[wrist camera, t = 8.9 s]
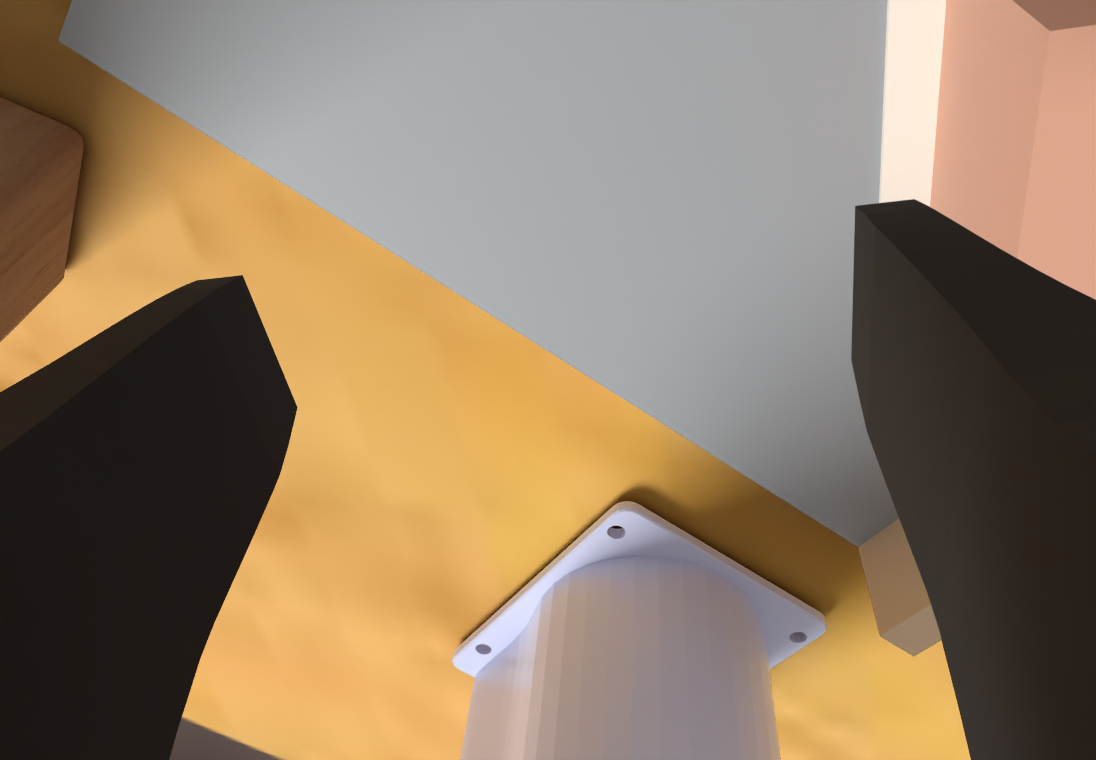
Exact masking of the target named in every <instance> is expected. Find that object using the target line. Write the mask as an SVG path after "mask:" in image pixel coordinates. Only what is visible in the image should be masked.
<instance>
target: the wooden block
mask: <svg viewBox="0 0 1096 760" xmlns="http://www.w3.org/2000/svg"><path fill="white" fill-rule="evenodd" d="M83 149H84V142H83V138H82V135H81V134H80V133H78V132H77V131H76V130H75V129H74V128H72V127H69V126H67V125H65V124H62V123H60V122H58V121H56V120H53V119H51V118H49V117H46V116H44V115H42V114H39V113H37V112H35V111H33V110H30V109H28V108H26V107H23V106H21V105H19V104H16V103H14V102H12V101H10V100H7V99H5V98H3V97H0V342H1V341H2V340H3V339H4V338H5V337H6V336H7V335H8V334H9V333H10V332H11V331H12V330H13V329H14V328H15V327H16V326H17V325H18V324H19V323H20V322H21V321H22V320H23V319H24V318H25V317H26V316H27V315H28V314H29V313H30V312H31V311H32V310H33V309H34V308H35V307H36V306H37V305H38V304H39V303H40V302H41V301H42V300H43V299H44V298H45V297H46V296H47V295H48V294H49V293H50V292H51V291H52V290H53V289H54V288H55V287H56V286H57V285H58V284H59V283H60V282H61V281H62V279H63V278H64V272H65V265H66V259H67V253H68V246H69V240H70V233H71V227H72V220H73V214H74V207H75V201H76V195H77V188H78V182H79V175H80V169H81V162H82V156H83Z"/></svg>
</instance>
